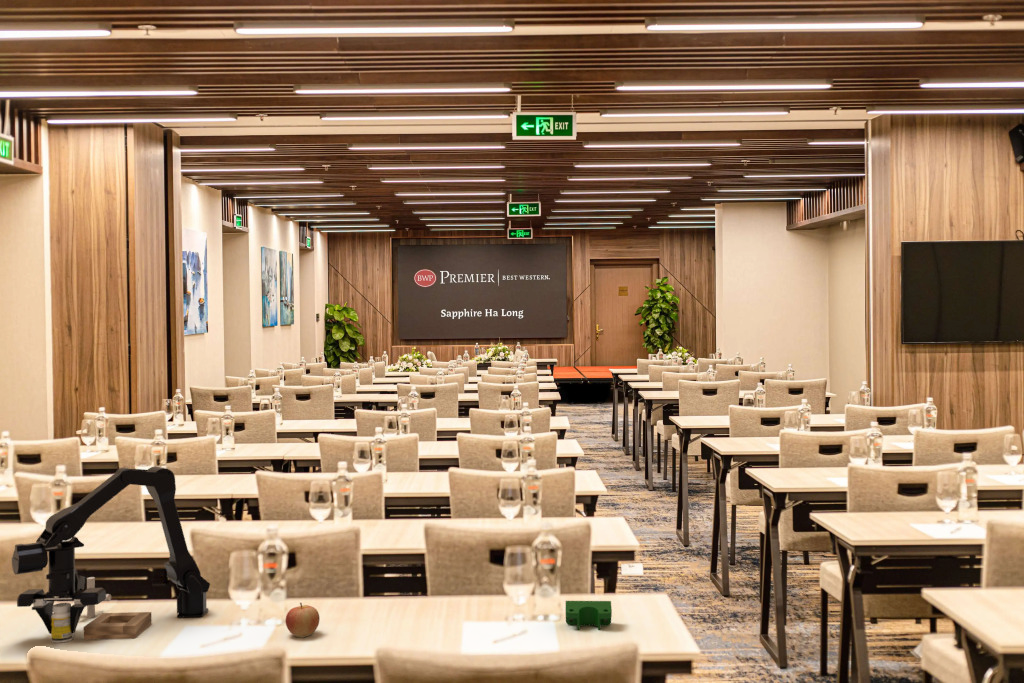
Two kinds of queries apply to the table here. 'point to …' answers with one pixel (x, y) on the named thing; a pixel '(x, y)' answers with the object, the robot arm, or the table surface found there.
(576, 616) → the clamp
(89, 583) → the pipe connector
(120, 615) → the holder
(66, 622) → the supplement bottle
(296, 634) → the apple
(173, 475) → the robot arm
